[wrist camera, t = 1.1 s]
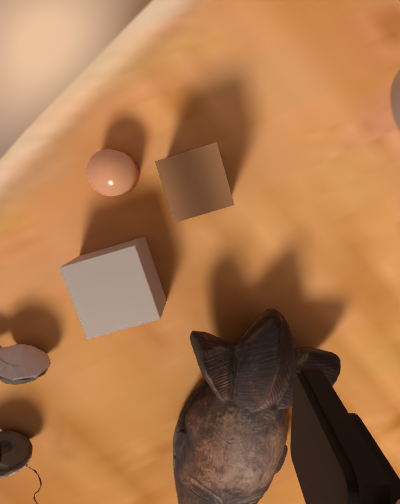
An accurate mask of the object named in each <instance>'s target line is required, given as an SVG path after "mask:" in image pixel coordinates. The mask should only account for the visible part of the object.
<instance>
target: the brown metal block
mask: <svg viewBox="0 0 400 504" xmlns="http://www.w3.org/2000/svg"><path fill="white" fill-rule="evenodd" d="M155 163H156V166H157V169H158V173H159V176H160V179H161V182H162V185H163V188H164V191H165V195H166V198H167V201H168V204H169V207H170V210H171V213H172V217H173V220H174V223H175V222H179V221H182V220H185V219H189V218H192V217H195V216H199V215H202V214H205V213H209V212H212V211H215V210H219V209H222V208H225V207H229V206H232V205H234V202H233V198H232V195H231V191H230V187H229V184H228V180H227V177H226V173H225V169H224V166H223V162H222V159H221V155H220V152H219V148H218V144H217V142H215V143H211V144H208V145H205V146H202V147H199V148H196V149H192V150H189V151H186V152H183V153H180V154H177V155H174V156H170V157H167V158H164V159H161V160H158V161H155Z"/></svg>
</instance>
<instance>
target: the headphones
mask: <svg viewBox="0 0 400 504" xmlns="http://www.w3.org/2000/svg"><path fill="white" fill-rule="evenodd" d="M49 367H50V359H49V357H48V355H47V354H46V353H44V351H42V350H40V349H39V348H36V347H34V346H32V345H26V344H17V345H13V346H9V347H4V348H2V347H1V346H0V380H1V381H2V382H4V383H6V384H14V385H16V384H24V383H27V382H30V381H34V380H36V379H37V378H38V377H40V376H42V375H44V374H45V373H46V371H47V369H48V368H49ZM0 445H1V450H2V458H1V462H0V478H1V477H8V476H9V475H12V474H14V473H16V472H18V471H19V470H20V469H22V468H23V467H25V468H26V467H27V465H28V464H27V463H28V462H29V461H30V458H31V457H32V444H31V442H30V440H29V439H28V438H27V437H26V436H24V435H23V434H22V433H18V432H14V431H10V430H9V431H1V432H0ZM29 468H30V467H29ZM31 469H32V468H31ZM33 470H34V469H33ZM34 471H35V473H36V474H37V472H36V470H34ZM37 475H38V474H37ZM38 477H39V475H38ZM39 480H40V487H41V484H42V483H41V479H40V477H39ZM39 490H40V488H39ZM39 490H38V491H39ZM38 491H37V492H38ZM37 492H36V493H37ZM36 493H35V494H36ZM35 494H34V500H35ZM35 502H36V500H35ZM36 503H37V502H36ZM37 504H38V503H37Z"/></svg>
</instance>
